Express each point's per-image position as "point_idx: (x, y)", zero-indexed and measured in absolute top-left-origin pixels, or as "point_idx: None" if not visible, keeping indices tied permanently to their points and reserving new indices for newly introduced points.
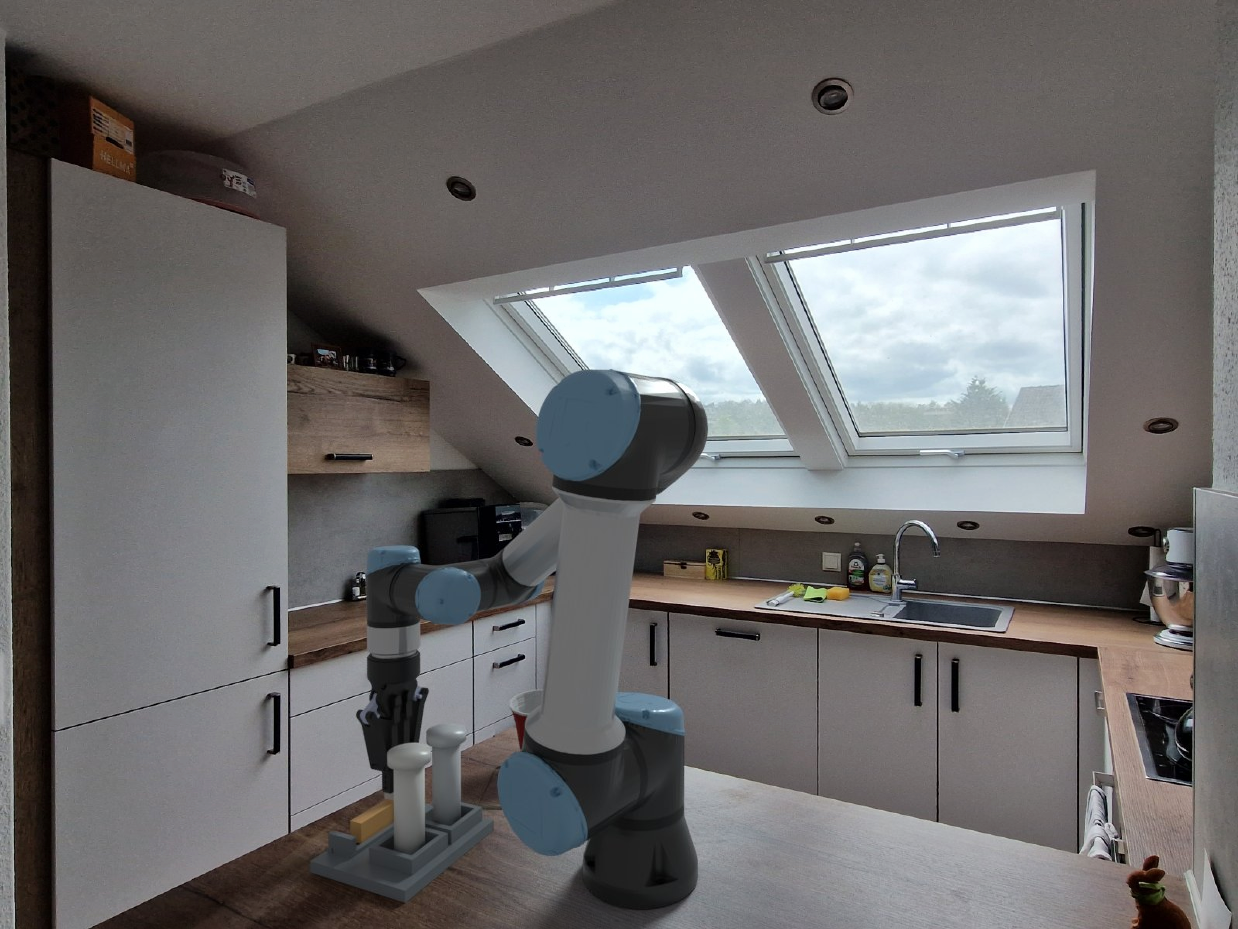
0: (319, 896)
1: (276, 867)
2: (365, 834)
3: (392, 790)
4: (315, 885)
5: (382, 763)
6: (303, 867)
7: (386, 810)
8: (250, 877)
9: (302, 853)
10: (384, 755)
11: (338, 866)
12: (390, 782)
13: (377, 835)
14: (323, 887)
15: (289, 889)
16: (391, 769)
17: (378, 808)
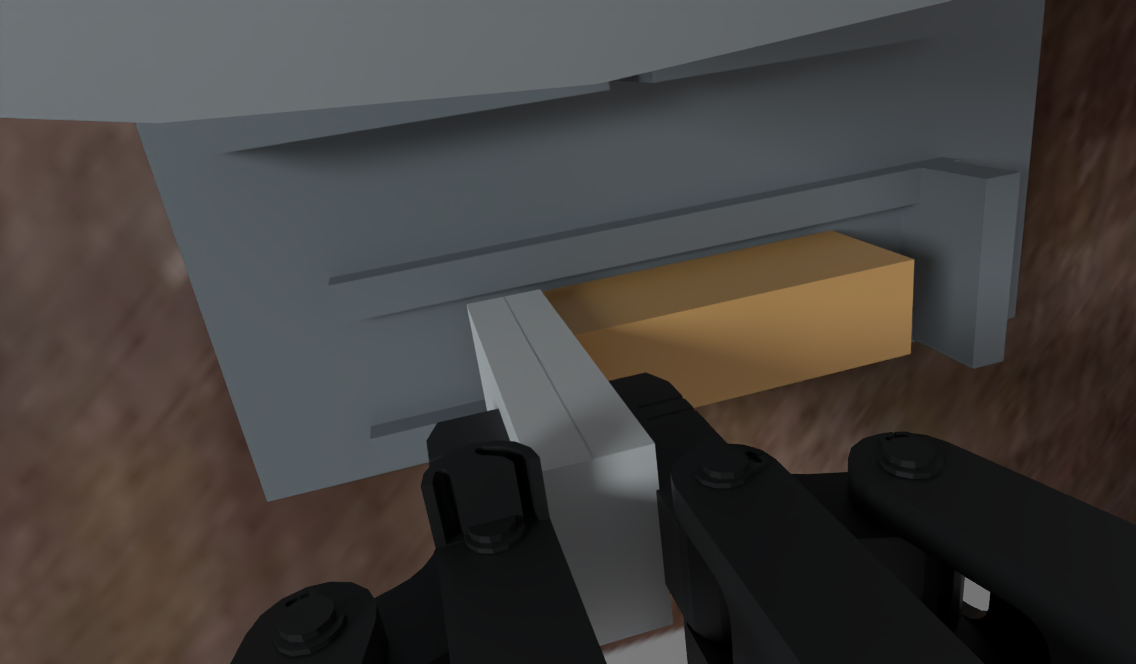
0: (1091, 90)
1: (986, 448)
2: (825, 245)
3: (626, 387)
4: (1034, 187)
5: (1039, 487)
6: (951, 362)
7: (671, 305)
8: (1064, 456)
9: None
10: (1092, 565)
11: (1012, 150)
12: (684, 418)
13: (750, 212)
14: (1036, 140)
15: (1085, 255)
16: (772, 461)
17: (715, 349)
